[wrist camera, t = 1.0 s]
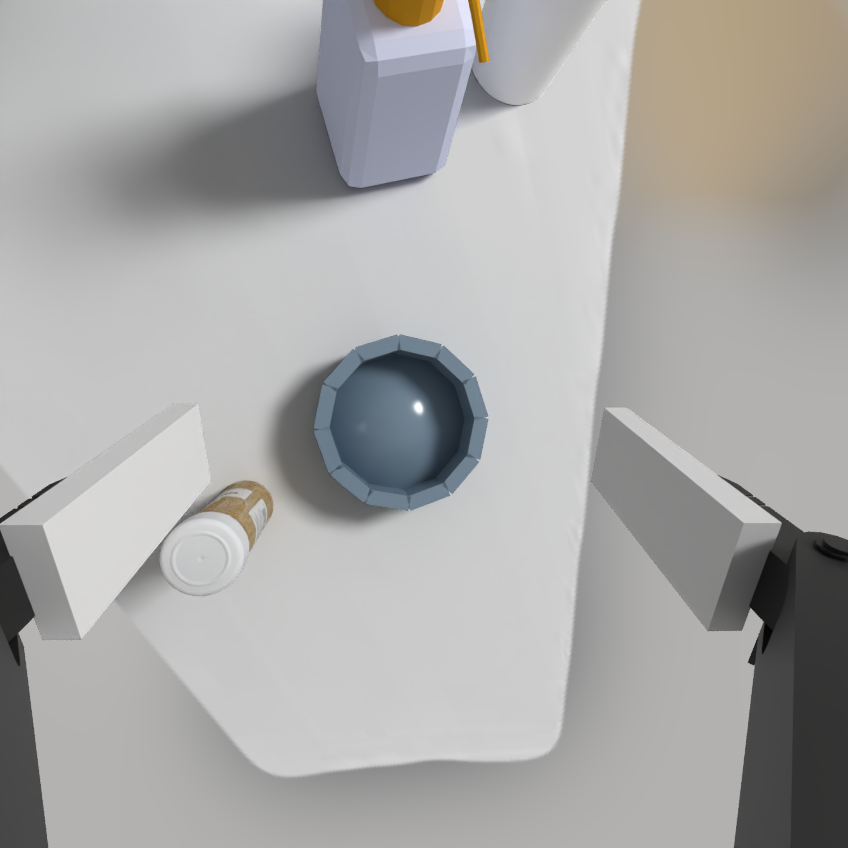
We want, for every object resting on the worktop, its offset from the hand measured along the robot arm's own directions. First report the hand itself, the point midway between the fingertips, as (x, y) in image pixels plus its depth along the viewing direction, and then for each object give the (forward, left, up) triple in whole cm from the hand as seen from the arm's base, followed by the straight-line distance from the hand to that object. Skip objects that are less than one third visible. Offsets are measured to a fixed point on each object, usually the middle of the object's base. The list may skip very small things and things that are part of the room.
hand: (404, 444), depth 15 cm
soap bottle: (-13, +19, -26) cm, 35 cm away
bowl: (+3, +2, -26) cm, 26 cm away
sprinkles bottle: (-2, -12, -26) cm, 29 cm away
